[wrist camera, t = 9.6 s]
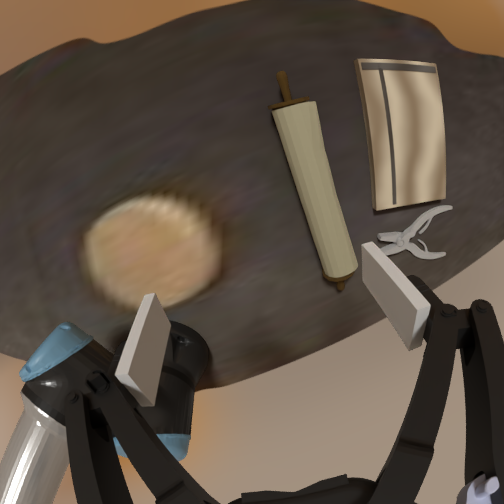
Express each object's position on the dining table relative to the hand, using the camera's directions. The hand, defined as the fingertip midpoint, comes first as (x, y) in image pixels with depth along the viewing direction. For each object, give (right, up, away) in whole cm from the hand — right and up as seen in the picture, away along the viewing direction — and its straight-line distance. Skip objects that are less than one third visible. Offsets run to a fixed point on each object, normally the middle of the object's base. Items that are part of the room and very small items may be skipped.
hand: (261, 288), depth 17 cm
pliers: (+26, +5, +24) cm, 36 cm away
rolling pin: (+8, +11, +20) cm, 24 cm away
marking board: (+21, +19, +15) cm, 32 cm away
